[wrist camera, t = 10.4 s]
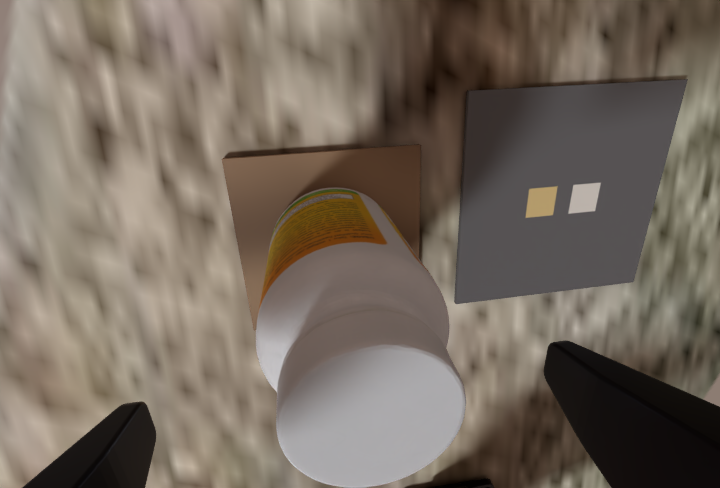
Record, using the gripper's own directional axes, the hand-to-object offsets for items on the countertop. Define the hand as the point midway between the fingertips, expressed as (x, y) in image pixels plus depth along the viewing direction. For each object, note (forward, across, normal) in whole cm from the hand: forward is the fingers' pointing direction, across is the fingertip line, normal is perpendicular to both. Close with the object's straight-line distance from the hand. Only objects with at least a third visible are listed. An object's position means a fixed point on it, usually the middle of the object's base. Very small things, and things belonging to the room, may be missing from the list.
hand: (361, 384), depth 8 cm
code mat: (+9, -11, -1) cm, 14 cm away
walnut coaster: (+9, 0, 0) cm, 9 cm away
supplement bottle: (+9, 0, 0) cm, 9 cm away
